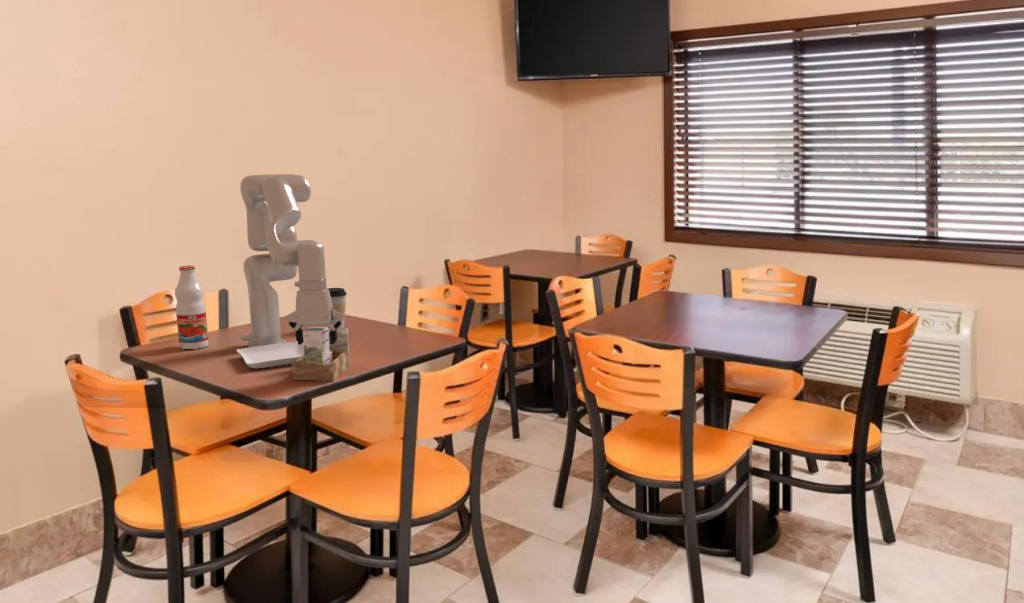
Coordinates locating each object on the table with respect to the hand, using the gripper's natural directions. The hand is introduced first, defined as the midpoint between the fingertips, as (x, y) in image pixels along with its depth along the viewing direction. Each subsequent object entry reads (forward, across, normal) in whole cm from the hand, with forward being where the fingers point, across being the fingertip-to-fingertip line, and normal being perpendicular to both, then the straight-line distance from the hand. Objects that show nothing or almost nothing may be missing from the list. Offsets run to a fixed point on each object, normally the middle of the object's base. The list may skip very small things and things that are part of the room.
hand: (317, 343), depth 226 cm
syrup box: (+10, 0, 0) cm, 10 cm away
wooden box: (+10, 0, +4) cm, 11 cm away
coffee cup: (+9, -14, +64) cm, 67 cm away
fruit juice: (+9, -55, +36) cm, 66 cm away
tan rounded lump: (+10, 0, +8) cm, 13 cm away
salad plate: (+10, -20, +19) cm, 29 cm away
